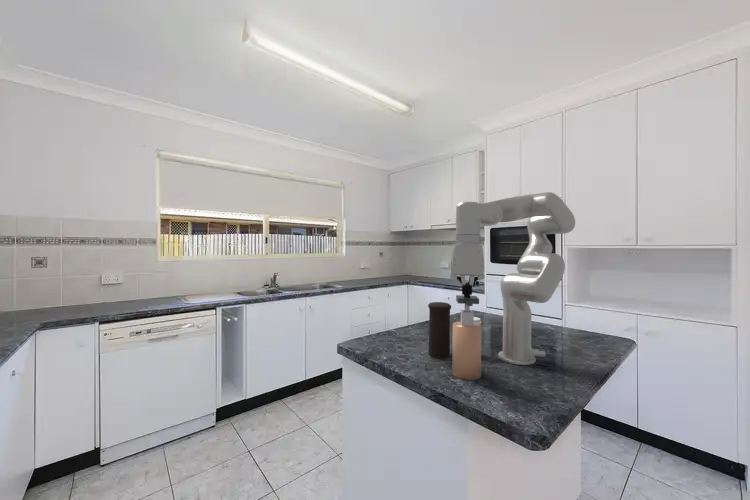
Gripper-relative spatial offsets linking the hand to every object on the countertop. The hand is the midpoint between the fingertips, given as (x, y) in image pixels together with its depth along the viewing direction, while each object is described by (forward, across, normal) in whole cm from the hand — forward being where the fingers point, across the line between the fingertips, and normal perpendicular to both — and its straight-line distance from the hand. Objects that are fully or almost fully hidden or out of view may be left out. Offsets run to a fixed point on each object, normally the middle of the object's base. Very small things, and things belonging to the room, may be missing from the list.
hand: (466, 296), depth 103 cm
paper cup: (+25, -4, -19) cm, 32 cm away
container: (+25, +8, -17) cm, 32 cm away
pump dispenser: (+25, 0, 0) cm, 25 cm away
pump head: (+6, 0, +2) cm, 7 cm away
